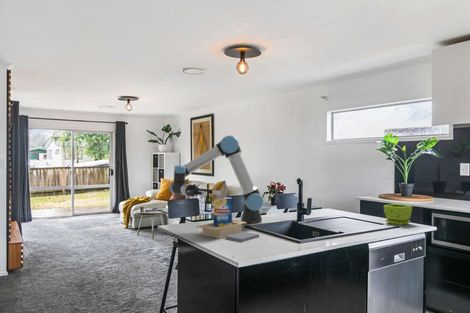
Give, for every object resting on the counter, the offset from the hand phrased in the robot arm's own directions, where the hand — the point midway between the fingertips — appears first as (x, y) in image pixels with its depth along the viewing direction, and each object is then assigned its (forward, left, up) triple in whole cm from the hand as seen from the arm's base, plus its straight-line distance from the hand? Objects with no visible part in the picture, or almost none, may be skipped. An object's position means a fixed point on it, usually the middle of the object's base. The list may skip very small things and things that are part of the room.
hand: (213, 193), depth 221 cm
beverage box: (+1, +8, -24) cm, 25 cm away
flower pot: (-103, +79, -24) cm, 132 cm away
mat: (+1, +24, -24) cm, 34 cm away
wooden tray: (+1, +8, -24) cm, 25 cm away
